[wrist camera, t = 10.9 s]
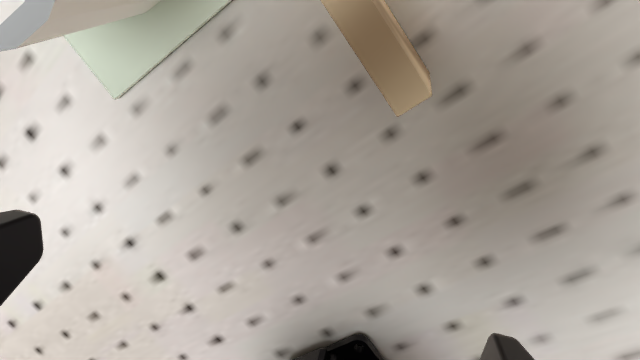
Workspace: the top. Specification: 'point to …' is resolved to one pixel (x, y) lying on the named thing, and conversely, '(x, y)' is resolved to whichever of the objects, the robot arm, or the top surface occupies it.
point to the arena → (383, 51)
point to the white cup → (60, 18)
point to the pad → (140, 41)
